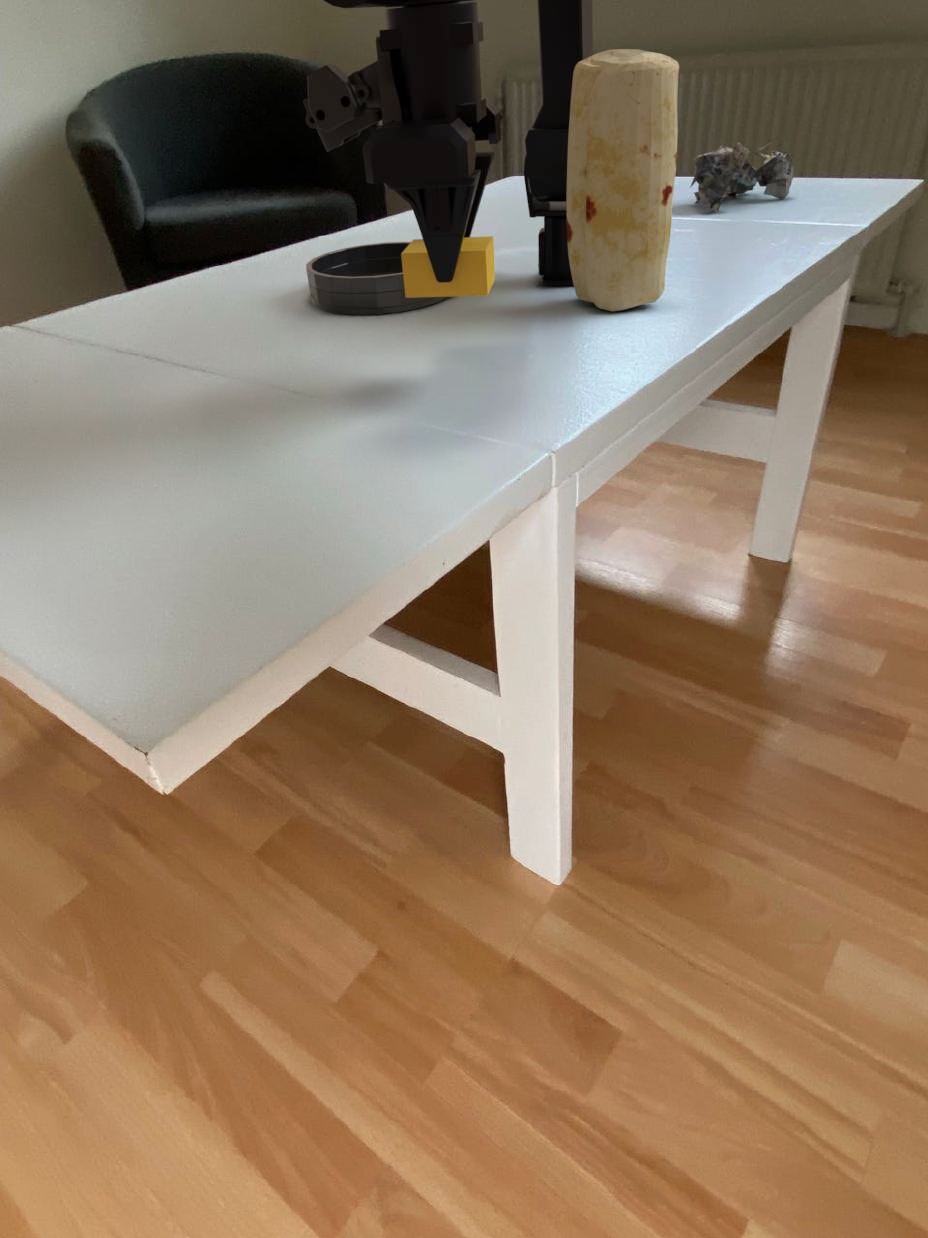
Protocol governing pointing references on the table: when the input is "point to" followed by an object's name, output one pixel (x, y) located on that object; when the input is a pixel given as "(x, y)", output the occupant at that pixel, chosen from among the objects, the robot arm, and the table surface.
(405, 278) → the sponge
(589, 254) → the food model
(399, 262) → the pan
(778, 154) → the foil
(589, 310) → the table surface
